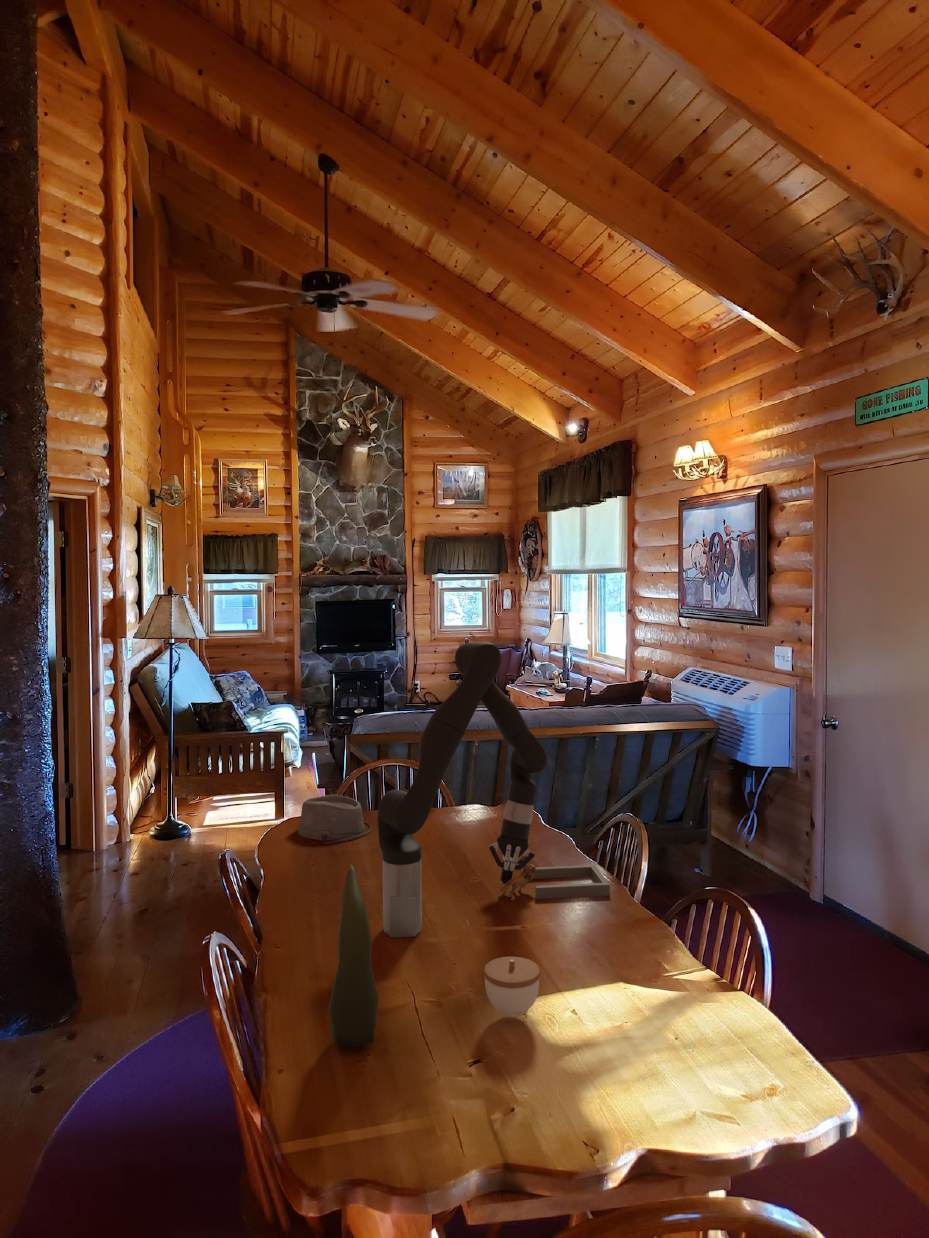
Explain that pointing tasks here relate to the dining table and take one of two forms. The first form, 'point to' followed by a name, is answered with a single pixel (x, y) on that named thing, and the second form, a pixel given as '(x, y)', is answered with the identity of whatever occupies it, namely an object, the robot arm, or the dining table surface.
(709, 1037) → the dining table surface
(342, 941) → the tentacle
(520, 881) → the lion figurine
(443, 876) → the dining table surface
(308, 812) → the fedora
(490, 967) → the lidded jar
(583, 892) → the bay
